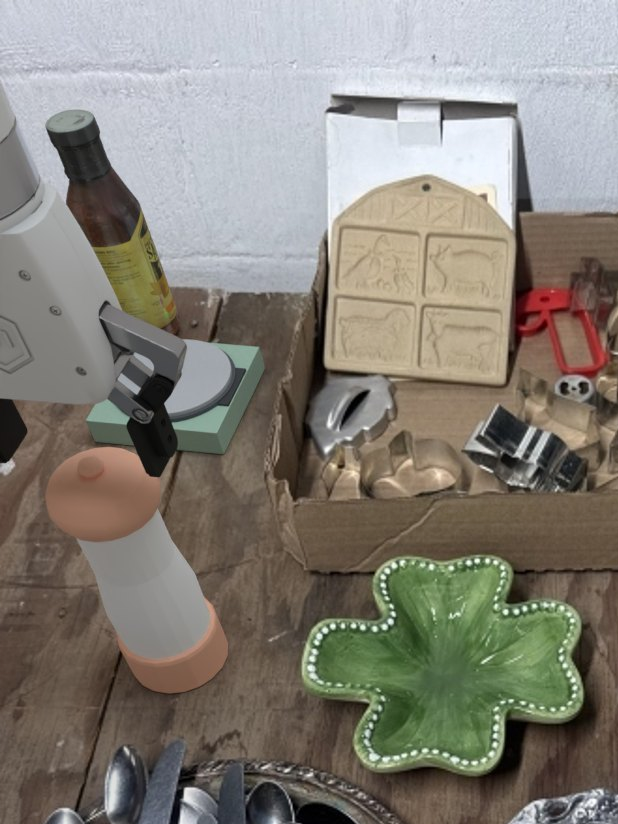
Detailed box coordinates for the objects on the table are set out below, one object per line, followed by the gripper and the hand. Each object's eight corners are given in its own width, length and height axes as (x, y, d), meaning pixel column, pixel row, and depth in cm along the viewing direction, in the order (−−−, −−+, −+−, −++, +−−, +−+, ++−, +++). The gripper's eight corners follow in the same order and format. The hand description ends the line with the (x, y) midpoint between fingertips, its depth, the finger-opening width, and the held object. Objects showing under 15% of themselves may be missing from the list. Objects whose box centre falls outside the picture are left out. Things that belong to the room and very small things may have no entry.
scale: (95, 442, 95) (81, 413, 92) (144, 357, 102) (133, 328, 99) (224, 454, 94) (214, 425, 91) (265, 368, 100) (257, 339, 98)
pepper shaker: (197, 705, 78) (105, 514, 63) (112, 678, 80) (1, 486, 64) (246, 632, 82) (170, 436, 66) (164, 608, 84) (72, 411, 68)
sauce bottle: (193, 336, 103) (123, 125, 87) (132, 360, 102) (48, 149, 85) (166, 303, 107) (93, 94, 90) (106, 326, 105) (21, 116, 88)
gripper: (-259, 206, 50) (-74, 485, 64) (91, 228, 48) (202, 511, 62) (-173, 126, 54) (-17, 403, 68) (152, 143, 52) (243, 425, 66)
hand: (87, 454), depth 65 cm, fingers open, 9 cm apart
